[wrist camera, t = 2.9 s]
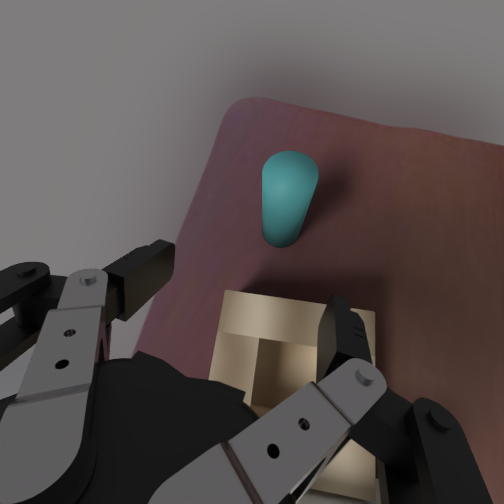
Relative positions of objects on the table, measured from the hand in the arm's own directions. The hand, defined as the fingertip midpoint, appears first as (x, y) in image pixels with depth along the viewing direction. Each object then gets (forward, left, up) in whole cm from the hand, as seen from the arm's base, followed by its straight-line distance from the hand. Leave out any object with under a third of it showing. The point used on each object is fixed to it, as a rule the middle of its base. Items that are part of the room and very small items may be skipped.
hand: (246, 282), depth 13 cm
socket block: (-4, +5, -13) cm, 15 cm away
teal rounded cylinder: (-2, -9, -13) cm, 16 cm away
